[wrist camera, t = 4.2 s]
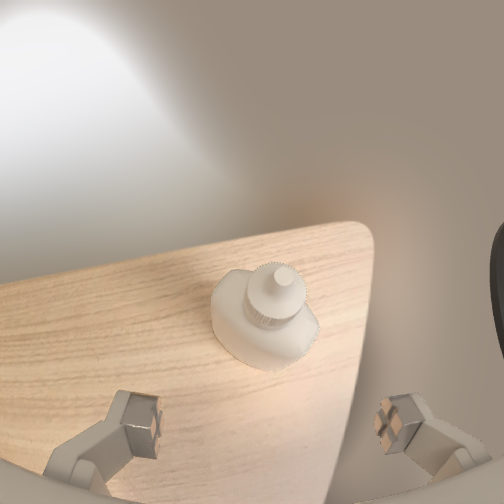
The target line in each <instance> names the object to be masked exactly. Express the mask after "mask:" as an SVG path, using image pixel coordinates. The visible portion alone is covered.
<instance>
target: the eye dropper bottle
mask: <svg viewBox="0 0 504 504" xmlns="http://www.w3.org/2000/svg"><path fill="white" fill-rule="evenodd" d="M306 293H307V291H306V285H305V282H304V280H303V277H301V275H300V274H299V272H297V270H295V269H294V268H292V267H290V266H289V265H287V264H284V263H278V262H277V263H275V262H274V263H272V262H271V263H268V264H265V265H262V266H260V267H259V268H257V269H256V270H255V271H254V272H253V271H248V270H240V269H236V270H231V271H230V272H228V273H227V274H226V275H225V276H224V277H223V278H222V280H221V281H220V282H219V284H218V285H217V286H216V288H215V289H214V291H213V292H212V295H211V298H210V306H211V318H212V327H213V332H214V334H215V336H216V337H217V339H218V340H219V341H220V343H221V344H222V345H223V346H224V347H225V349H226V350H227V351H228V352H230V353H231V354H232V355H233V356H234V357H236V358H237V359H238V360H240V361H242V362H243V363H245V364H247V365H249V366H252V367H254V368H257V369H260V370H264V371H270V372H277V371H280V370H282V369H284V368H286V367H287V366H289V365H291V364H293V363H294V362H296V361H298V360H299V359H301V358H302V357H303V356H304V355H305V354H306V353H307V352H308V350H309V349H310V347H311V346H312V344H313V342H314V341H315V339H316V337H317V335H318V333H319V328H320V327H319V323H318V320H317V318H316V317H315V315H314V314H313V312H312V310H311V309H310V308H309V306H308V305H307V304H306V303H305V301H306V300H305V299H306V296H307V294H306Z"/></svg>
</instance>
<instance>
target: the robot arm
mask: <svg viewBox="0 0 504 504" xmlns="http://www.w3.org/2000/svg"><path fill="white" fill-rule="evenodd" d="M161 404H162V403H161V397H160V396H155V395H149V394H143V393H137V392H130V391H124V390H118V391H117V392H116V395H115V397H114V399H113V402H112V404H111V407H110V409H109V412H108V414H107V417H106V419H105V421H102V420H101V421H99V422H98V423H96V424H95V425H93V426H91V427H90V428H88V429H87V430H85V431H83V432H82V433H80V434H78V435H77V436H75V437H74V438H72V439H70V440H69V441H67V442H65V443H64V444H62V445H60V446H59V447H57V448H55V449H54V450H53V453H52V455H51V457H50V459H49V461H48V463H47V466H46V468H45V470H44V472H43V475H40V474H38V473H35V472H33V471H30V470H28V469H26V468H23V467H21V466H19V465H16V464H14V463H12V462H10V461H7V460H5V459H3V458H1V457H0V504H145V503H139V502H134V501H129V500H124V499H120V498H115V497H112V496H111V494H110V492H109V490H108V488H107V486H106V485H105V483H106V482H107V481H108V480H109V479H110V478H111V477H113V476H114V475H115V474H116V473H117V472H118V471H119V470H120V469H121V468H123V467H124V466H125V465H126V464H127V463H128V462H129V461H130V460H131V459H132V458H133V456H135V457H142V458H149V459H157V456H158V451H159V446H160V445H159V439H158V438H160V437H161V436H162V431H163V412H162V411H161V410H160V408H161ZM381 406H382V408H381V409H380V410H379V411H378V412H377V413H376V415H375V418H374V429H375V432H376V434H377V435H378V436H380V437H381V438H382V439H381V442H380V444H381V446H382V448H383V450H384V452H385V455H387V454H393V453H399V452H404V453H405V454H406V455H407V456H409V457H410V458H411V459H412V460H413V461H415V462H416V463H417V464H418V465H420V466H421V467H422V468H423V469H425V470H426V471H427V472H428V473H429V474H431V475H432V476H433V478H432V480H431V481H430V482H429V483H428V484H427V485H426V486H423V487H420V488H416V489H413V490H409V491H406V492H402V493H398V494H394V495H391V496H386V497H382V498H378V499H373V500H368V501H363V502H358V503H352V504H504V454H503V455H501V456H499V457H497V458H495V459H492V457H491V456H490V455H489V453H488V451H487V450H486V448H485V447H484V445H483V444H482V442H481V441H480V440H479V439H477V438H475V437H473V436H471V435H469V434H468V433H466V432H464V431H462V430H460V429H458V428H456V427H455V426H453V425H451V424H449V423H447V422H446V421H443V420H442V419H440V418H436V417H435V416H434V414H433V413H432V411H431V409H430V408H429V406H428V405H427V403H426V402H425V400H424V399H423V397H422V396H421V394H419V393H411V394H407V395H398V396H391V397H385V398H384V399H383V400H382V402H381Z"/></svg>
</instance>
